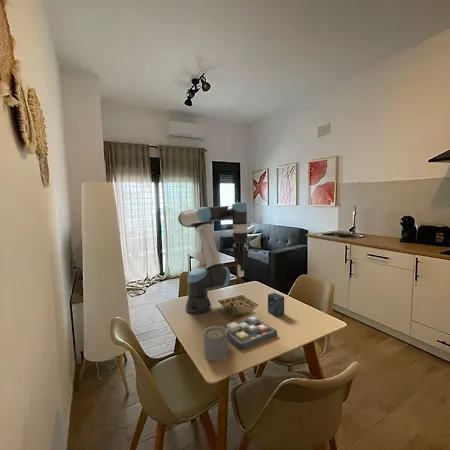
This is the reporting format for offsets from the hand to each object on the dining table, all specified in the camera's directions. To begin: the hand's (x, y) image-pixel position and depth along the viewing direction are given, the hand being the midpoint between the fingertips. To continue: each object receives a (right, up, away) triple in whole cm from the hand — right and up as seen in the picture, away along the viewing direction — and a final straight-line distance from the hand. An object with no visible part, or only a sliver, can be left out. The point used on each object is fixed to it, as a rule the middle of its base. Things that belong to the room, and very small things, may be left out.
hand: (241, 276), depth 137 cm
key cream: (-4, -23, -12) cm, 26 cm away
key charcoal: (+4, -23, -15) cm, 28 cm away
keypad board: (+3, -26, -12) cm, 28 cm away
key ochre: (-1, -25, -18) cm, 31 cm away
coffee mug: (-11, -28, -26) cm, 39 cm away
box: (+21, -23, +10) cm, 33 cm away
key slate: (+6, -22, -6) cm, 23 cm away
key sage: (+1, -24, -9) cm, 26 cm away
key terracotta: (+9, -24, -12) cm, 28 cm away
